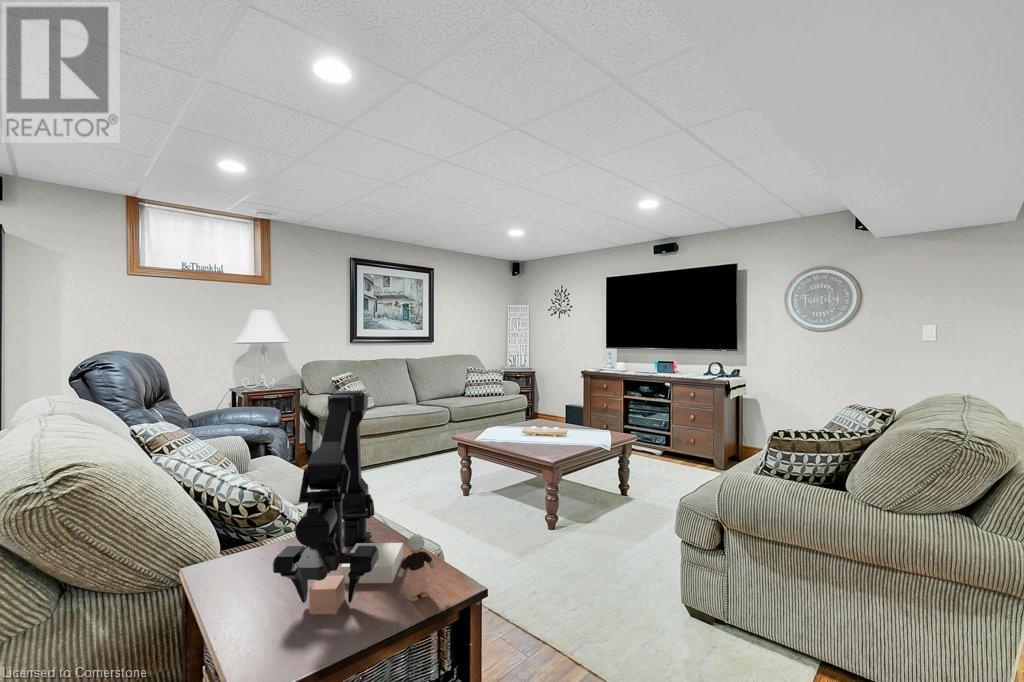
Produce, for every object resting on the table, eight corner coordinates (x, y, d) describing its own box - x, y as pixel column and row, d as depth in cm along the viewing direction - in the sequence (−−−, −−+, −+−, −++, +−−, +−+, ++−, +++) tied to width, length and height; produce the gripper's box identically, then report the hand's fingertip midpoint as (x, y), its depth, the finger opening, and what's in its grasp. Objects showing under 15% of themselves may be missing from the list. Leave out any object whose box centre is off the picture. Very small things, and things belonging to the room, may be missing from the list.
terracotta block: (319, 600, 95) (319, 575, 95) (344, 599, 95) (344, 575, 95) (309, 615, 90) (309, 589, 90) (335, 615, 90) (335, 589, 90)
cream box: (356, 559, 112) (356, 543, 112) (402, 559, 112) (402, 542, 112) (340, 585, 101) (340, 566, 101) (392, 584, 101) (392, 566, 101)
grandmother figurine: (426, 585, 100) (426, 526, 99) (437, 593, 97) (436, 532, 97) (394, 600, 94) (393, 538, 94) (404, 608, 92) (404, 544, 91)
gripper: (256, 542, 84) (258, 628, 84) (362, 541, 84) (362, 627, 84) (286, 516, 95) (287, 592, 95) (379, 516, 95) (379, 592, 95)
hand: (327, 601), depth 92 cm, fingers open, 9 cm apart
